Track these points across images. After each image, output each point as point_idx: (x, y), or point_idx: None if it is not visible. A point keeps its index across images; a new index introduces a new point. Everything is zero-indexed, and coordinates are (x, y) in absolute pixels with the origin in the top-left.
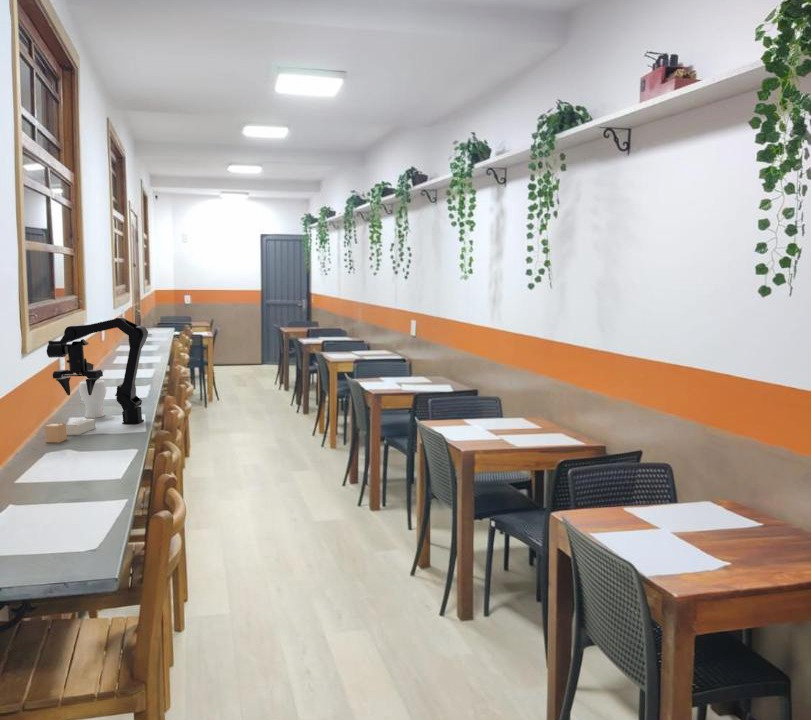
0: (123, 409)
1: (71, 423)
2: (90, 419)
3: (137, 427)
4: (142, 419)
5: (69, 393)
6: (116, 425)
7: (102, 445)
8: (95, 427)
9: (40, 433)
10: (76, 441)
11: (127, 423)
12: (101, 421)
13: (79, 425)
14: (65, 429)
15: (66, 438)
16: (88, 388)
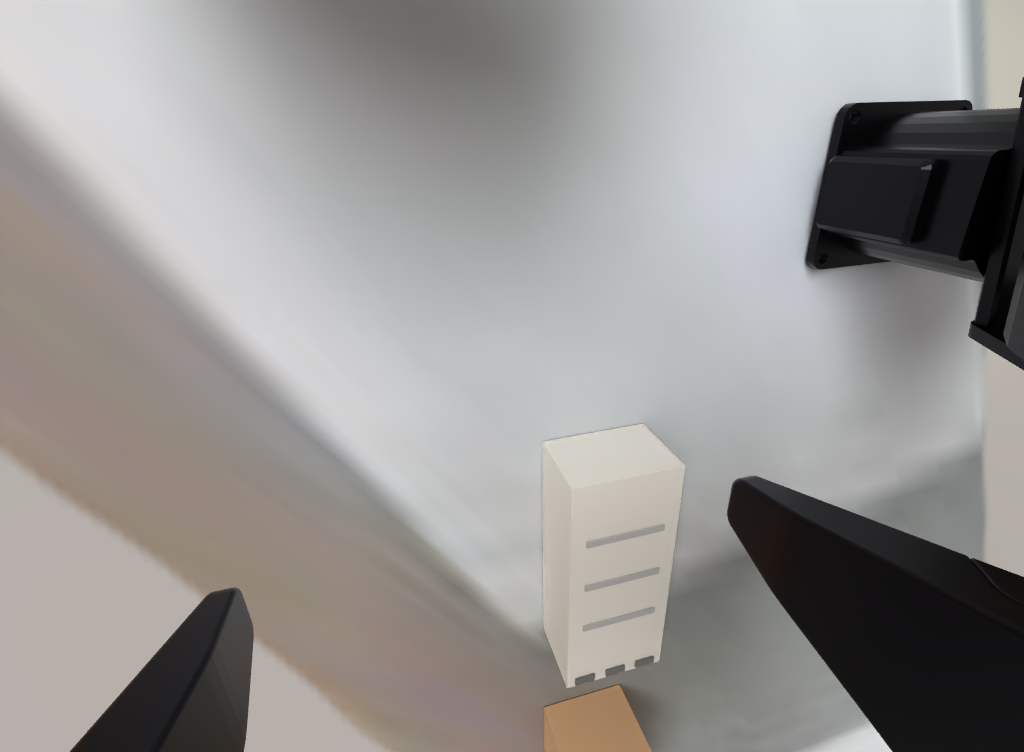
0: (971, 333)
1: (575, 635)
2: (656, 491)
3: (930, 350)
4: (958, 100)
5: (239, 640)
6: (771, 312)
7: (837, 687)
8: (644, 426)
9: (305, 658)
10: (694, 690)
11: (853, 264)
12: (549, 147)
13: (659, 636)
14: (648, 750)
15: (621, 692)
16: (871, 680)
